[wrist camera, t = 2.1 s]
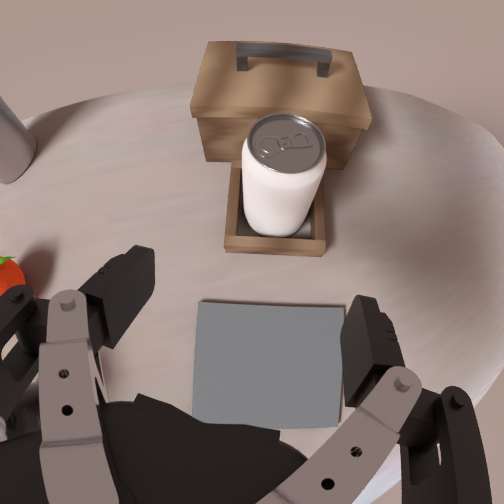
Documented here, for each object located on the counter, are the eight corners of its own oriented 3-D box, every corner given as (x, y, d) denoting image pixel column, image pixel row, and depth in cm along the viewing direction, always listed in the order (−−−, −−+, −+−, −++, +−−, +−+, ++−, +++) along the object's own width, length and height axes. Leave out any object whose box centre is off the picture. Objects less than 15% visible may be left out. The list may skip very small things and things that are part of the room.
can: (237, 192, 32) (231, 116, 20) (293, 179, 32) (311, 103, 21) (253, 246, 30) (255, 187, 18) (313, 231, 30) (346, 168, 19)
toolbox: (191, 250, 30) (155, 191, 18) (215, 96, 36) (206, 21, 24) (352, 258, 30) (409, 206, 18) (335, 104, 36) (357, 33, 24)
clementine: (27, 248, 30) (-7, 229, 23) (49, 286, 28) (11, 271, 22) (-3, 290, 28) (-38, 278, 21) (16, 330, 27) (-22, 323, 20)
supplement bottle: (22, 407, 24) (-45, 416, 12) (39, 370, 25) (-35, 370, 14) (58, 446, 23) (-7, 471, 11) (77, 410, 24) (5, 429, 13)
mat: (193, 421, 25) (191, 422, 24) (199, 302, 28) (198, 301, 28) (336, 425, 25) (337, 426, 24) (342, 308, 28) (343, 307, 27)
